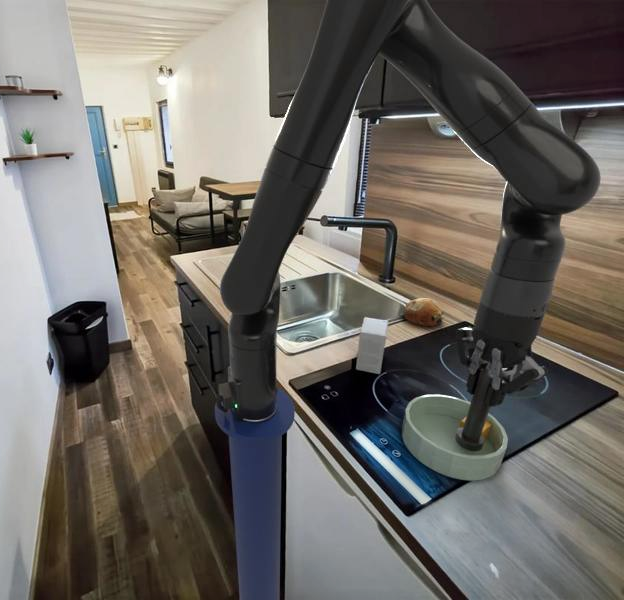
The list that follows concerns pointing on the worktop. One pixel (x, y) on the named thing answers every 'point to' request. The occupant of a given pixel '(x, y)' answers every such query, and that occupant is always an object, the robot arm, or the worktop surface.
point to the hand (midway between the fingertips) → (482, 398)
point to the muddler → (476, 415)
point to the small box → (371, 345)
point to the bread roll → (423, 312)
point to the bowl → (450, 438)
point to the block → (484, 432)
